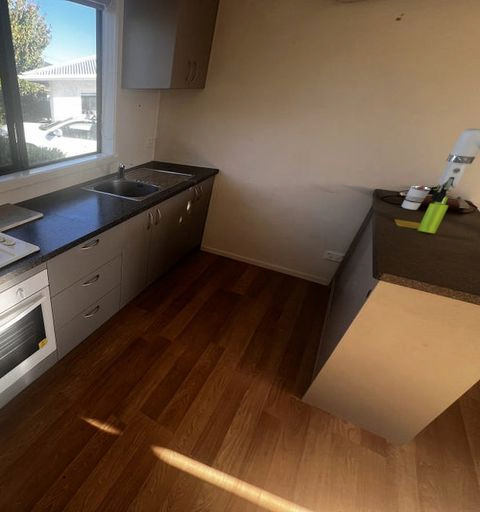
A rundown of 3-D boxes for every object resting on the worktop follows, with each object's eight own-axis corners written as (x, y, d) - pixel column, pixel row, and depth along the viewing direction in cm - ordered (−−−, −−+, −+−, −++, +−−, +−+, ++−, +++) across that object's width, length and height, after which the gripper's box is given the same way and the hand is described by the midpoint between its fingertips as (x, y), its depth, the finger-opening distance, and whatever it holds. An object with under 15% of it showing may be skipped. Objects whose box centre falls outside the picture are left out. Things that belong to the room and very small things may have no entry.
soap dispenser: (414, 229, 142) (433, 188, 136) (434, 233, 137) (455, 190, 132) (414, 230, 138) (433, 187, 132) (435, 233, 134) (456, 190, 128)
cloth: (426, 224, 147) (426, 224, 147) (430, 231, 140) (430, 230, 140) (394, 219, 153) (394, 219, 153) (396, 225, 146) (397, 225, 146)
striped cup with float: (423, 211, 164) (436, 190, 158) (406, 209, 166) (418, 189, 160) (411, 205, 173) (423, 185, 167) (395, 204, 174) (406, 184, 168)
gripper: (476, 163, 118) (450, 206, 127) (469, 158, 129) (445, 197, 138) (450, 161, 122) (426, 203, 131) (444, 156, 133) (423, 194, 142)
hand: (436, 200), depth 134 cm, fingers closed on soap dispenser, 3 cm apart
